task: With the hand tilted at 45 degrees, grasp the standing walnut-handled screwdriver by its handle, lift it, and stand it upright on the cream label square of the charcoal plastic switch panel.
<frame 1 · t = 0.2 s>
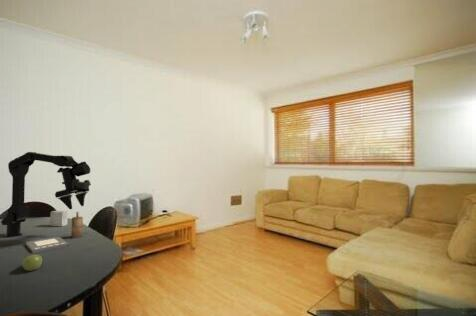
hand: (77, 207, 134), 15 cm above the table, tool tilted 15°, fingers open, 9 cm apart
medicine box: (58, 225, 157), on the table
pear: (32, 268, 95), on the table
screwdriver: (76, 236, 134), on the table
switch panel: (46, 245, 119), on the table
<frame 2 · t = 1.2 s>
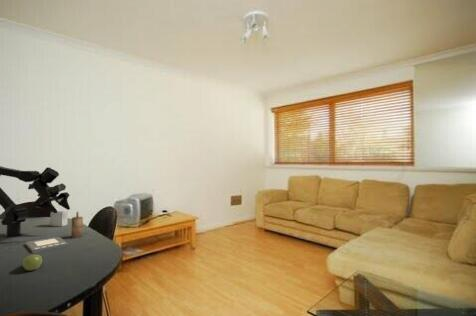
hand: (63, 210, 134), 13 cm above the table, tool tilted 45°, fingers open, 9 cm apart
nothing on the table moved.
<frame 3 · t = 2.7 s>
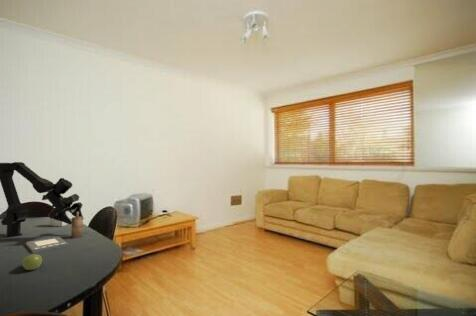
hand: (77, 221, 134), 8 cm above the table, tool tilted 45°, fingers open, 9 cm apart
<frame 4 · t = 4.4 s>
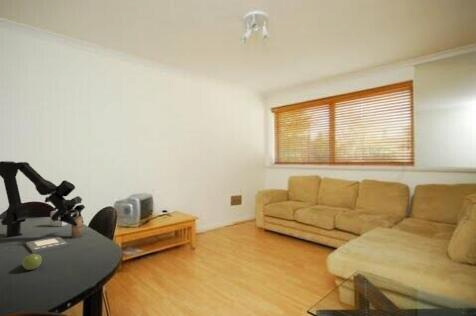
hand: (79, 224, 134), 7 cm above the table, tool tilted 45°, fingers closed on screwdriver, 5 cm apart
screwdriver: (76, 236, 134), on the table, touching gripper
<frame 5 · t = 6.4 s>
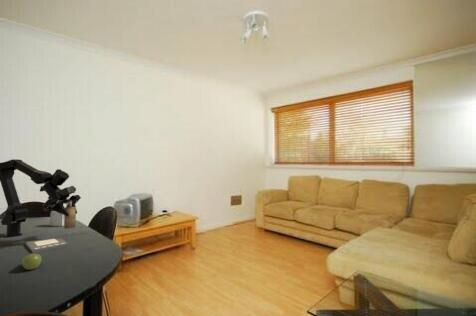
hand: (72, 214, 130), 12 cm above the table, tool tilted 45°, fingers closed on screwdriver, 5 cm apart
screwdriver: (69, 227, 130), point 6 cm above the table, touching gripper
when the fingers open (9 cm above the table, at t = 8.9 s): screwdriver drops 1 cm, resting on switch panel.
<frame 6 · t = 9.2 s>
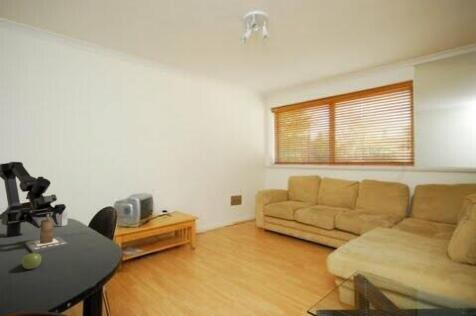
hand: (48, 225, 120), 9 cm above the table, tool tilted 45°, fingers open, 7 cm apart
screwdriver: (46, 242, 120), point 1 cm above the table, touching switch panel
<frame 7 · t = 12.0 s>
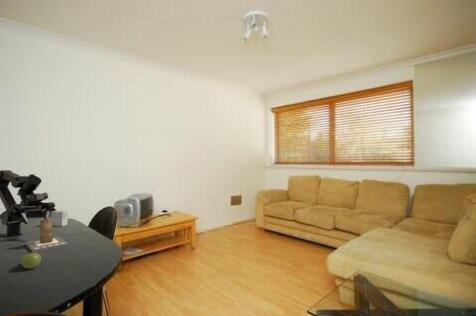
hand: (37, 222, 124), 9 cm above the table, tool tilted 40°, fingers open, 9 cm apart
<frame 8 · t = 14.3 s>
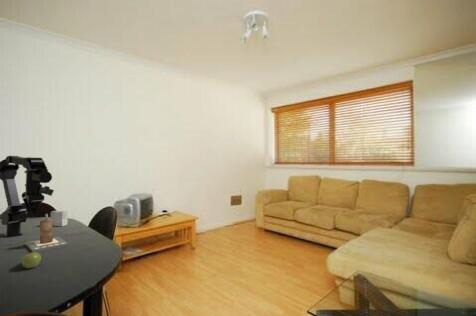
hand: (32, 213, 129), 13 cm above the table, tool pointing down, fingers open, 9 cm apart
at the end: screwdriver inside the target area on the switch panel (0.0 cm from its centre), point 1.4 cm above the switch panel's base; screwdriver tilted 1°; the gripper is holding nothing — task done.
